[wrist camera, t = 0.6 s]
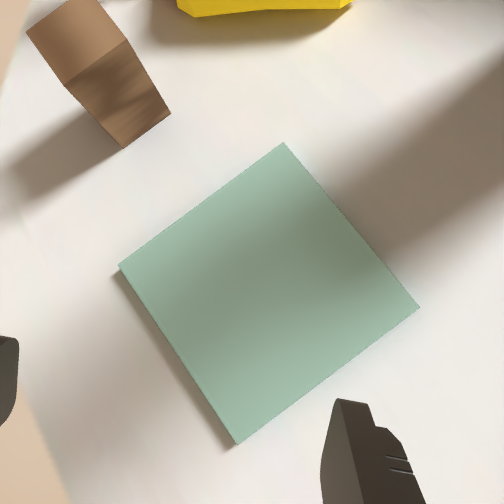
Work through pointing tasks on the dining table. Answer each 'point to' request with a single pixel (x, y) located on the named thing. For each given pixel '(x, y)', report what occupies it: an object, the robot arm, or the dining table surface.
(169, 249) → the teal board
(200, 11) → the yellow faceted bar
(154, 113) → the walnut block
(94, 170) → the dining table surface
